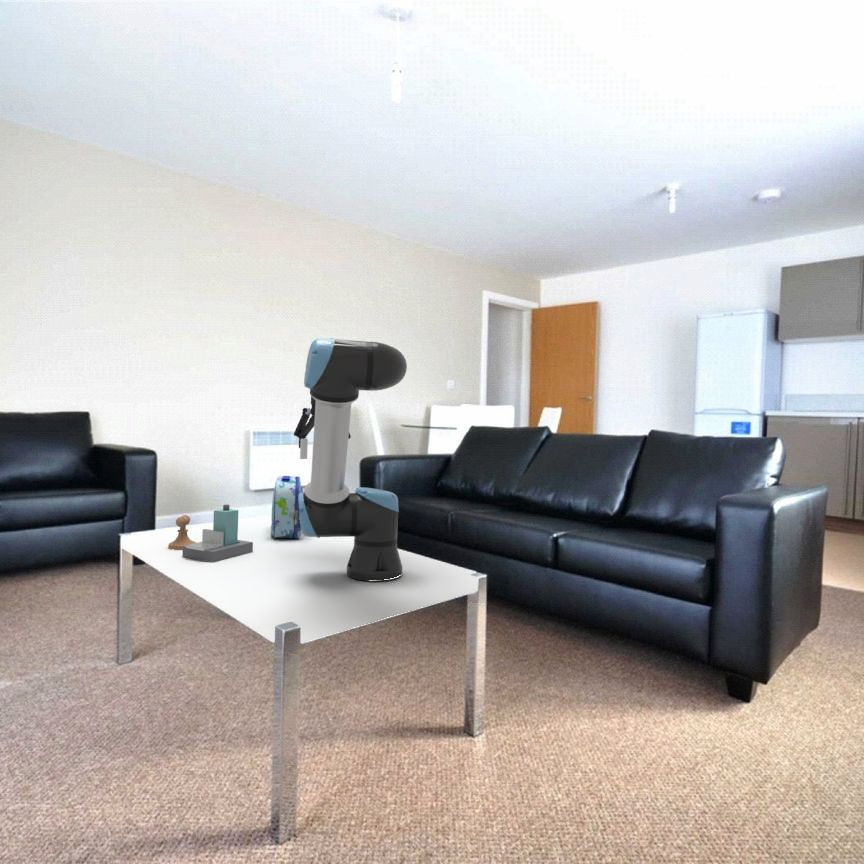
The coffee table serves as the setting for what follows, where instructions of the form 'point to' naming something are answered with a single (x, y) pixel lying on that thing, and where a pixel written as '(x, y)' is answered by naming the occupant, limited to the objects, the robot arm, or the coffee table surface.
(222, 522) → the teal bottle
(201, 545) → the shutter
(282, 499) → the lunch box
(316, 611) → the coffee table surface
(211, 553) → the socket
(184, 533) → the brown chess pawn
